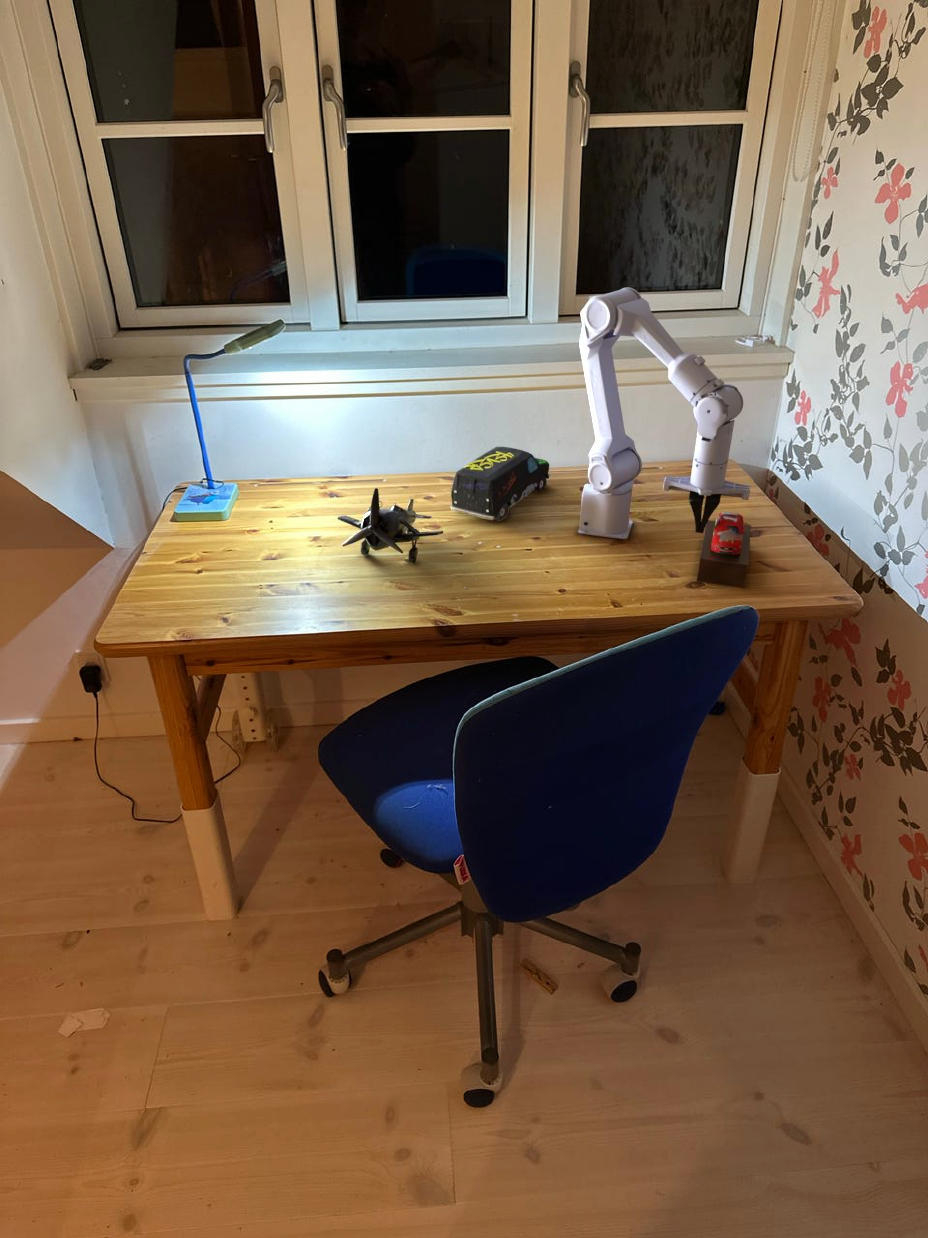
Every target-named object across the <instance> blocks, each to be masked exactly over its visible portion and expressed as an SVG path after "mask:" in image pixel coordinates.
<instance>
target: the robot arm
mask: <svg viewBox="0 0 928 1238" xmlns="http://www.w3.org/2000/svg"><path fill="white" fill-rule="evenodd" d="M580 320H581V325H582V326H581V331H580V335H579V341H578V342H579V343H578V345H579V351H580V358H581V363H582V368H583V374H584V375H583V376H584V382H585V386H586V391H587V392H586V393H587V397H588V403H589V409H590V414H591V421H592V427H593V432H594V438H595V441H594V443H593V445H592V447H591V449H590V451H589V452H588V461H589V465H588V469H587V477H588V481H589V483H584V486H583V489H582V493H581V502H580V512H579V526H578V531H577V532H578V534H581V535H587V536H594V537H602V538H609V539H610V538H611V539H619V540H628V538H629V535H630V533H631V530H632V527H633V523H634V522H633V520H632V519H631V520H630V515H631V506H632V505H631V504H632V496H633V489H634V487H633V486H634V484H635V479H636V478H637V477H638V476H639V475H640V474H641V472H642V469H643V461H642V458H641V456H640V454H639V453H638V451H637V449H636V445H635V440H633V438H631V437H630V436H628V434H626V431H625V423H624V417H623V411H622V406H621V399H620V393H619V386H618V381H617V375H616V374H617V373H616V368H615V362H614V356H613V346H614V345H615V344H616V343H617V341H618V340H619V338H620V337H632V338H633V337H634V338H636V339H637V340H638V341H639V342H640V343H642V345H643V346H644V347H645V348H646V349H648V351H650V352H651V353H652V354H653V355H654V356H655V357H656V358H657V359H658V360H659V361H660V362H661V363H662V364H663V365H664V366H666V367H667V371H668V373H667V378H668V381H670V382H671V384H672V385H673V386H674V387H675V388H676V389H677V390H678V391H679V393H680V394H681V395H682V396H683V397H684V398H685V399H686V400H687V401H688V403H690V404H691V406H692V407H693V416H694V418H695V421H696V423H697V431H696V439H695V446H694V454H693V458H692V459H693V460H692V467H691V473H690V476H665V477H664V480H663V486H662V491H663V492H664V491H665V492H669V491H677V492H686V493H689V494H688V502H689V505H690V508H691V510H692V514H693V518H694V525H695V533H696V534H704V533H705V528H706V524H707V522H708V520H709V519H710V518H711V516H712V515H713V513H714V512H715V510H716V509H717V508H718V506H719V505H720V504H721V498H722V497H731V498H738V499H739V498H740V499H741V500H743V501H744V500H745V501H749V500H750V494H751V485H749V484H742V483H739V482H734V481H729V480H726V474H727V468H728V463H729V458H730V453H731V452H730V451H731V447H732V446H731V445H732V439H733V433H734V428H735V419H736V418H737V417H738V416H739V415H740V414H741V413H742V410H743V408H744V398H743V395H742V393H741V392H740V390H739V388H738V387H737V386H735V385H734V384H729V383H725V381H724V380H723V379H722V378H718V377H717V376H716V374H714V373H713V371H712V370H711V369H710V368H709V367H708V366H707V365H706V364H705V363H706V359H705V358H704V357H703V356H702V355H699V356H697V354H696V353H686V352H684V351H683V349H682V348H681V347H680V346H679V345H678V343H677V342H676V341H675V340H674V339H673V337H672V336H671V335H670V334H669V332H668V331H667V330H666V329H665V327H664V326H663V325H662V323H660V321H659V320H658V318H657V317H656V316H655V315H654V313H653V312H652V310H651V308H650V304H649V302H648V300H646V299H645V298H643V297H642V295H641V294H640V293H639V291H638V290H637V289H635V288H632V287H628V286H627V287H623V288H620V289H619V290H615V291H611V292H607V293H604V294H597V295H593V296H592V297H591V298H589V299H588V301H587V302H586V304H584V307H583V308H582V309H581V310H580ZM704 500H705V501H704ZM703 505H704V506H703Z"/></svg>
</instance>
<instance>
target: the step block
mask: <svg viewBox="0 0 928 1238" xmlns="http://www.w3.org/2000/svg"><path fill="white" fill-rule="evenodd" d="M714 527H715V520H711V519H710V520H708V522H707V524H706V526H705V529H704V532H703V534H704V535H703V540H702V545H701V551H700V556H699V561H698V568H697V574H696V582H700V583H707V584H716V585H723V586H730V587H736V588H744V587H745V584H746V578H747V573H748V569H749V568H748V567H749V558H750V546H751V534H752V532H751V531H752V525H750V524H744V529H743V531H745V533H743V540H742V548H741V553H740V554H736V555H725V554H720V553H717V552H714V551H711V546H712V545H711V544H712V538H713V532H714V529H713V528H714Z"/></svg>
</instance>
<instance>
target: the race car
mask: <svg viewBox="0 0 928 1238" xmlns="http://www.w3.org/2000/svg"><path fill="white" fill-rule="evenodd" d="M714 521H715V527H714V528H713V529H714V532H713V538H712V544H711V545H712V546H711V551H714V552H717V553H720V554H725V555H736V554H740V553H741V548H742V540H743V533H745V531H743V529H744V525H745V521H744V516H743V515H742V514H740V513H738V512H729V511H722V512H719V513H718V515H717V517H716V518H715V520H714Z"/></svg>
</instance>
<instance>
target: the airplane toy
mask: <svg viewBox="0 0 928 1238" xmlns="http://www.w3.org/2000/svg"><path fill="white" fill-rule="evenodd" d="M414 500H415V499H414V498H412V497H410V499H409V502H408V505H407V508H406V509H404V508H403V507H401V506H398V505H397V504H398V503H397V502H395V503H394V504H392V505H391V506H390V507H389V508H382V507H383V505H384V504H383V502H382V501H381V500H380V493H379V488H377V487H375V488H374V490H373V493H372V497H371V503H370V507H368V508H367V510H366V513H364V514H363V517H362V518H361V519H362V520H359V519H356V518H355V517H351V516H348V515H339V516H337V520H338V521H341V522H343V523H345V524H348V525H351V526H352V527H355V528H357V529H359V531H357V532H355V533H354V534H353V535H352V536H350V537H349V538H348V539H347V540H345V541H344V542H343V543H342V544H341V546H342V547H347V546H349V545H352V544H354V543H357V542H359V541H361V540H362V542H361V543H360V554H361V556H364V557H366V556H368V555H369V553H370V550H371V549H372V550H374V551H375V552H376V551H381V550H383V549H387V548H389V547H391V548H392V549H394V550H396V551H397V552H399V553H400V554H404V550H402V549H401V547H399V545H398V544H402V543H409V542H411V548H410V549H409V550H408V563H409V564H411V565H413V564H416V563H417V561H418V560H417V559H418V556H419V555H418V554H419V547H417V541H418V540H419V539H420V537H422V538H423V537H432V536H439V535H443V534H444V530H432V531H419V529H418V528H415V527H413V525H414V524H415V521H416V519H432V518H433V516H430V515H425V514H418V513H417V512H416V511H415V510H414ZM380 504H381V505H380Z"/></svg>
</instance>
